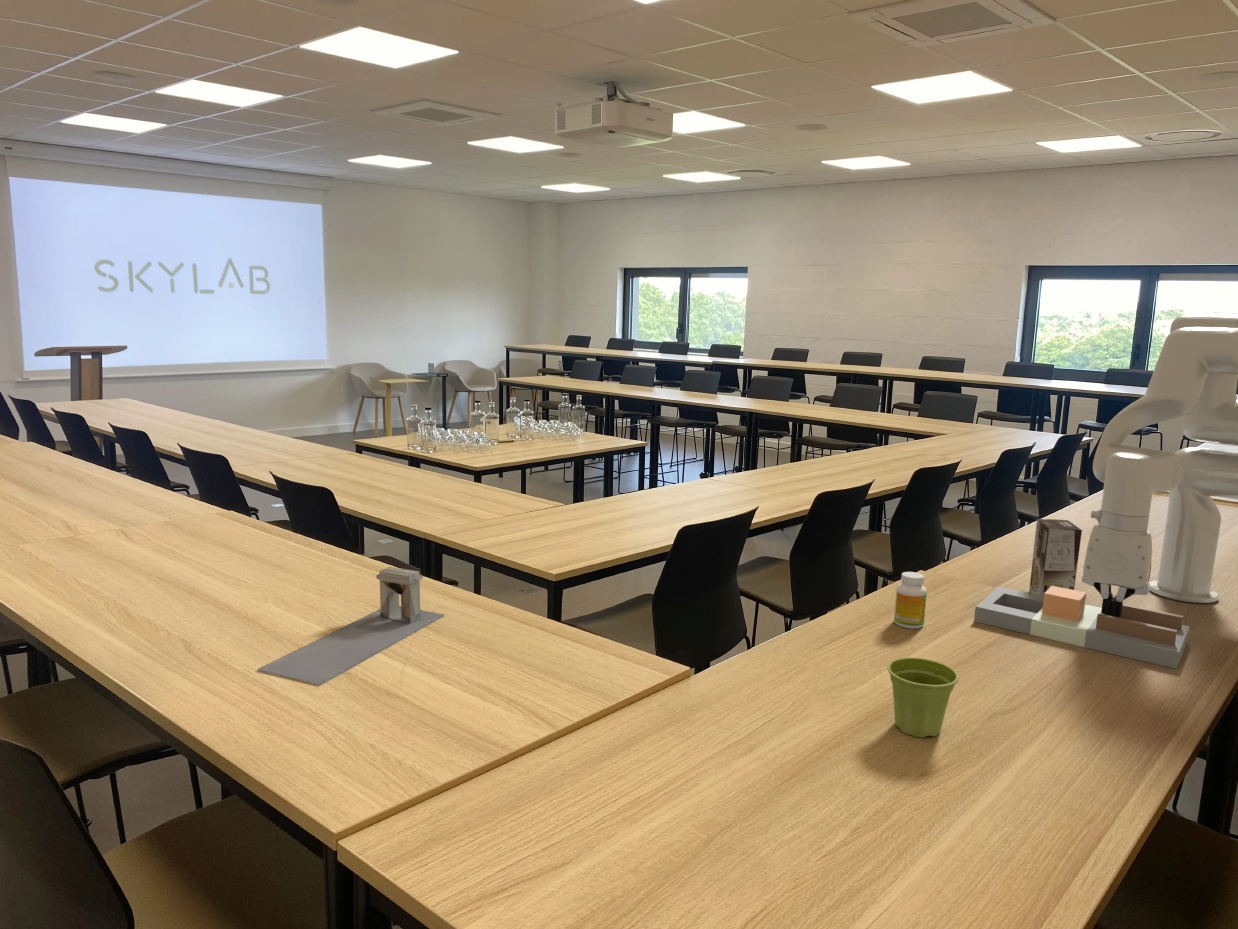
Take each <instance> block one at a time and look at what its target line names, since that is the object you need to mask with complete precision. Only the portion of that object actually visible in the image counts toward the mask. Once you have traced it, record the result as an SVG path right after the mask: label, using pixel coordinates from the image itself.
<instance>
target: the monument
mask: <svg viewBox="0 0 1238 929" xmlns="http://www.w3.org/2000/svg"><path fill="white" fill-rule="evenodd" d="M375 578H376V580H379V596H380V597H379V600H380V601H379V602H380V608H379V609H377V610H375V611H373V612H371V613H369V614H367V615H365V616H364V617H361V618H359V619H357V620H355V621H353V622H350V623H349V624H346V625H345V626H342V627H341V628H338V629H337V630H335V631H332V632H330V633H328V634H327V635H325V636H322V637H320V638H318V639H316V640H313V641H312V642H310V643H308V644H306V645H304V646H302V647H299V648H298V649H295V650H294V651H291V652H290V653H287V654H286V655H284V656H281V657H279V658H277V659H275V660H273V661H271V662H269V663H267V664H265V665H262V666H261V667H259V668H257V672H261V673H266V674H269V675H273V676H277V677H282V678H285V679H290V680H294V681H298V682H299V681H300V682H302V683H303V682H304V683H308V684H310V685H316V686H322V685H324V684H326V683H328V682H330V680H333V679H334V678H336V677H338V676H340V675H342V674H343V673H345V672H348V671H349V670H351V669H352V668H354V667H356V666H358V665H359V664H361V663H363V662H365V661H367V660H368V659H370V658H372V657H374V656H375V655H377V654H380V653H381V652H383V651H384V650H386V649H388V648H390V647H392V646H394V645H395V644H397V643H399V642H401V641H403V640H404V639H406V638H408V637H410V636H411V635H414V634H415V633H417V632H419V631H421V630H422V629H424V628H425V627H428V626H430V625H431V624H433V623H435V622H437V621H439V620H440V619H442V618H443V617H445V614H444V613H438V612H434V611H427V610H422V609H421V592H420V591H421V590H420V589H421V587H420V586H421V582H420V581H421V580H422V579H423V578H424V577H423V574H420V571H417V570H412V569H405V568H399V567H393V566H389V567H386V568H384V569H381V570H379V573H378V574H376V577H375Z"/></svg>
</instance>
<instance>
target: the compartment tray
mask: <svg viewBox="0 0 1238 929" xmlns="http://www.w3.org/2000/svg"><path fill="white" fill-rule="evenodd" d="M1043 601H1044V596H1042V595H1037V594H1032V593H1031V592H1027V591H1022V590H1017V589H1012V588H1007V587H1003V586H998V587H997V588H995V589H994V590H993V591H992V592H991V593H990V594H988V595H987V596H986V597H984V599H982V600H981V601H980V602H978V603H977V605H975V608H974V617H973V622H974V623H975V622H976V623H980V624H983V625H988V626H992V627H996V628H1001V629H1006V630H1009V631H1013V632H1019V633H1022V634H1027V635H1030V636H1035V637H1039V638H1043V639H1048V640H1052V641H1056V642H1059V643H1065V644H1069V645H1073V646H1077V647H1081V648H1086V649H1089V650H1094V651H1097V652H1098V651H1099V652H1103V653H1107V654H1109V655H1110V654H1112V655H1115V656H1120V657H1124V658H1128V659H1132V660H1136V661H1140V662H1146V663H1149V664H1153V665H1158V666H1163V667H1166V668H1170V669H1174V670H1177V669H1178V667H1179V664H1180V662H1181V660H1182V656H1183V654H1184V652H1185V649H1186V647H1187V644H1188V641H1189V635H1190V628H1191V626H1189V625H1185V624H1183V621H1184V615H1180V614H1175V613H1171V612H1165V611H1163V610H1162V611H1161V610H1157V609H1152V608H1146V607H1141V606H1137V605H1132V604H1126V603H1123V605H1122V612H1121V617H1120V618H1119V617H1113V616H1109V615H1105V614H1101V610H1102V607H1100V606H1094V605H1089V604H1085V608H1084V613H1083V615H1082V616H1081V617H1080V619H1079V620H1078V621H1073V620H1069V619H1064V618H1060V617H1055V616H1050V615H1046V614H1042V609H1043Z"/></svg>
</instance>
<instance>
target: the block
mask: <svg viewBox="0 0 1238 929" xmlns="http://www.w3.org/2000/svg"><path fill="white" fill-rule="evenodd" d="M1086 598H1087V592H1085V591H1080V590H1075V589H1074V590H1071V589H1066V588H1061V587H1056V586H1051V587H1050V588H1049V589H1048V590H1047V591H1046V592H1045V593H1044V601H1043V609H1042V614H1046V615H1050V616H1055V617H1060V618H1064V619H1069V620H1073V621H1078V620H1079V619H1080V617H1081V616H1082V615H1083V613H1084V608H1085V605H1086Z"/></svg>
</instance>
